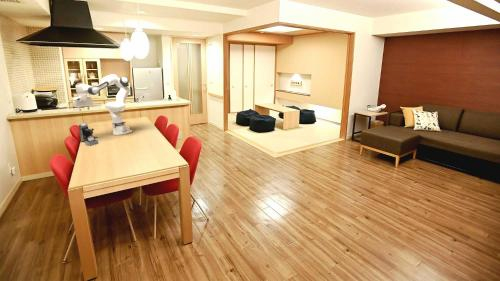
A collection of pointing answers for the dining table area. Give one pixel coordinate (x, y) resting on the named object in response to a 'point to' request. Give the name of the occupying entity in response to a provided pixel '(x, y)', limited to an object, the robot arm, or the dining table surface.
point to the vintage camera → (85, 132)
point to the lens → (90, 138)
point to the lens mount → (91, 142)
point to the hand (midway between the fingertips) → (84, 110)
